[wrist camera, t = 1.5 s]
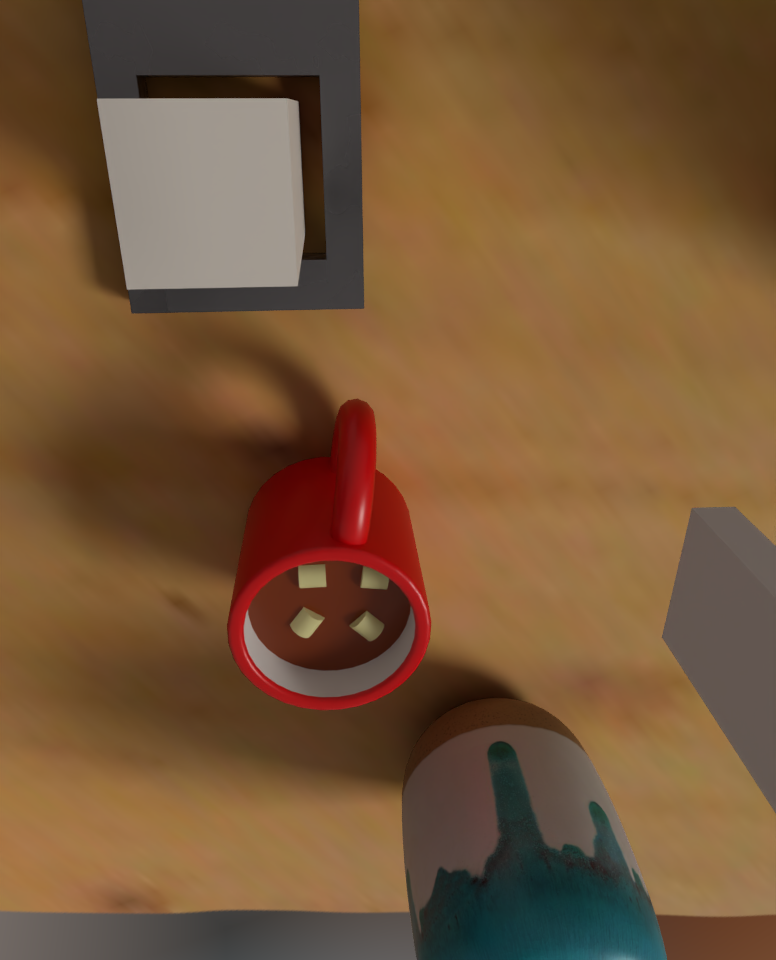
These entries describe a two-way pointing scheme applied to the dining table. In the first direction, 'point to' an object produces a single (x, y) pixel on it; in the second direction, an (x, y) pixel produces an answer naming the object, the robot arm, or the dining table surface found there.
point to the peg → (206, 190)
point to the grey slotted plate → (252, 53)
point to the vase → (517, 844)
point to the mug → (330, 579)
